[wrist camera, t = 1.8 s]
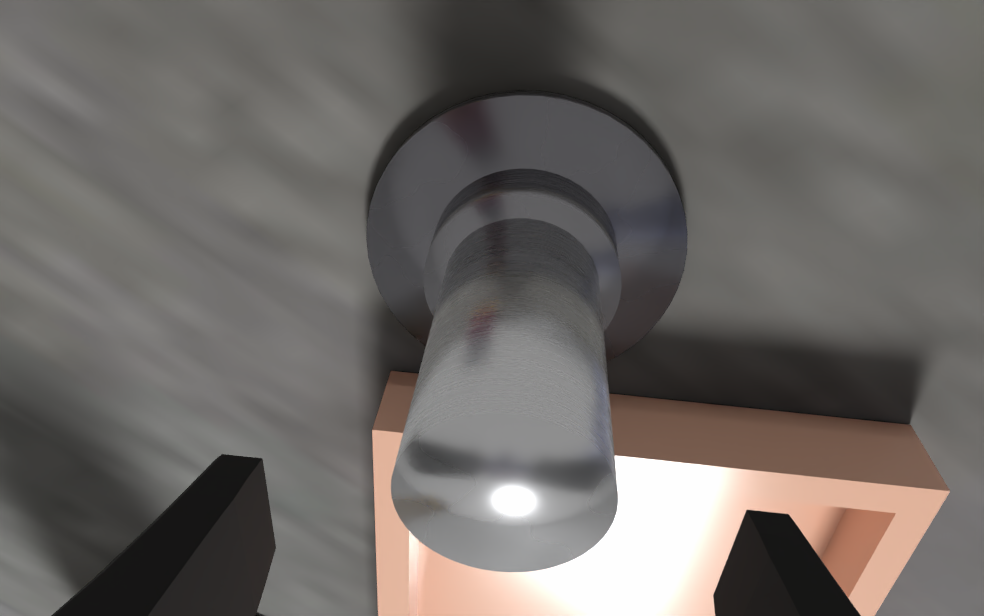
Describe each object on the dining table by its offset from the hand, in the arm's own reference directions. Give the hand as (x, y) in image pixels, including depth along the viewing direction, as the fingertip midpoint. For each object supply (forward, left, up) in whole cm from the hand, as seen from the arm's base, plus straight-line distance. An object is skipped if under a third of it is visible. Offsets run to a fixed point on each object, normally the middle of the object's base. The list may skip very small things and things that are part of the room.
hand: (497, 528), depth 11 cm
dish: (-4, +12, -9) cm, 16 cm away
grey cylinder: (0, 0, -9) cm, 9 cm away
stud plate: (0, 0, -9) cm, 9 cm away
